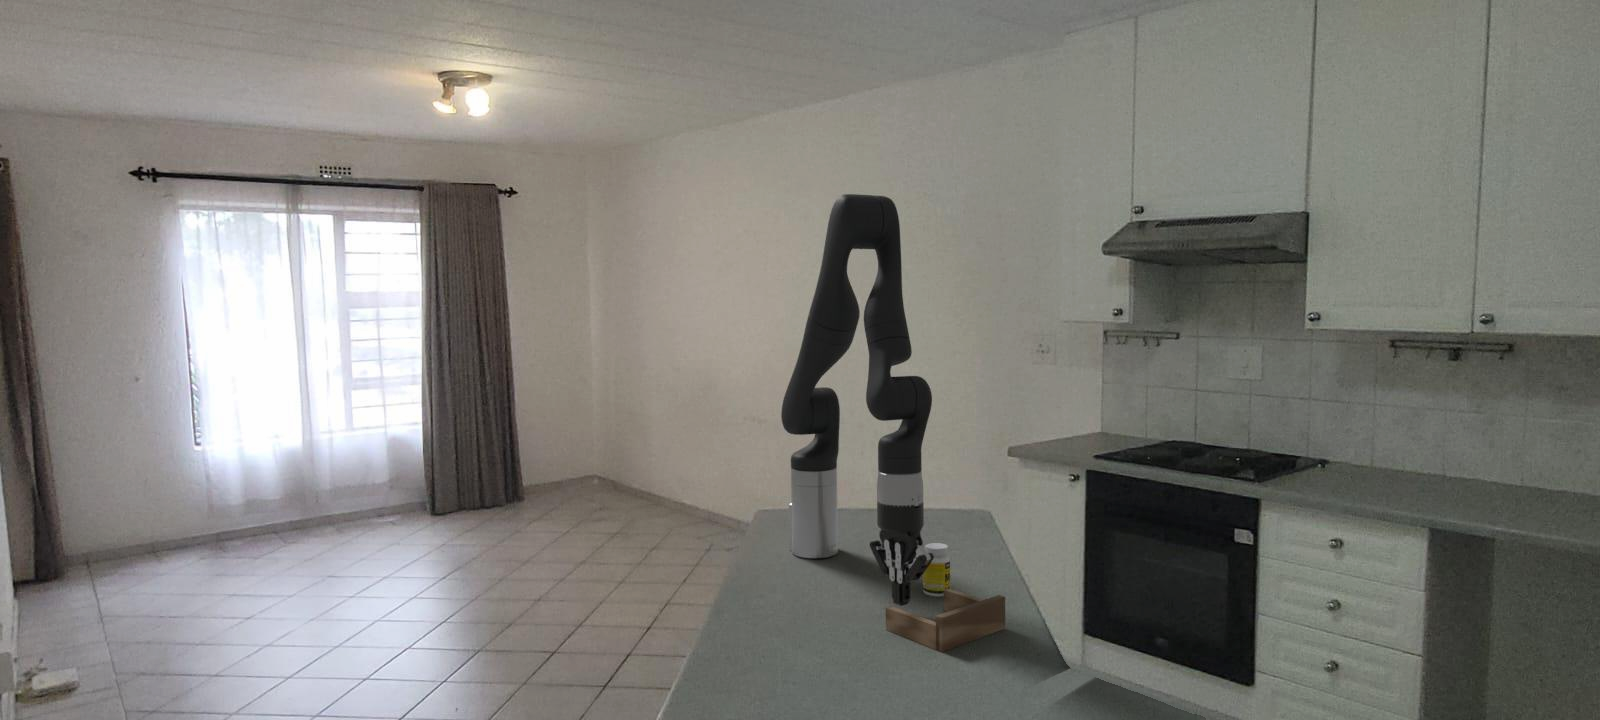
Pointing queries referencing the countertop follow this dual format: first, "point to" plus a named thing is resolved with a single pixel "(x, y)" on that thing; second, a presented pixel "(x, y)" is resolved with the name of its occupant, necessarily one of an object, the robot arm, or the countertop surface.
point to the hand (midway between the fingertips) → (901, 603)
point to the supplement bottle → (937, 570)
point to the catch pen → (950, 621)
